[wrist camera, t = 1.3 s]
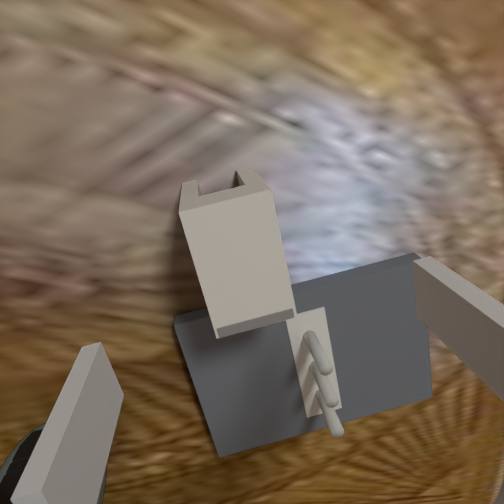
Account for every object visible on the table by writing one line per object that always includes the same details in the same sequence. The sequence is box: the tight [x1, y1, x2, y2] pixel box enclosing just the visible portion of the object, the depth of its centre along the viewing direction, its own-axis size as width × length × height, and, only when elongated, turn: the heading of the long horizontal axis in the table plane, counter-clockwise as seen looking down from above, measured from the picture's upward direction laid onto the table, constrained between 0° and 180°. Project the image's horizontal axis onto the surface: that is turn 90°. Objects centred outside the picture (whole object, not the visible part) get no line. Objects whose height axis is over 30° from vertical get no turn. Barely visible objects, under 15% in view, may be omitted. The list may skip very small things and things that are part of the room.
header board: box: [174, 253, 432, 458], centre depth 32 cm, size 20×14×6 cm
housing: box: [179, 166, 297, 339], centre depth 26 cm, size 5×8×8 cm, turn 13°
